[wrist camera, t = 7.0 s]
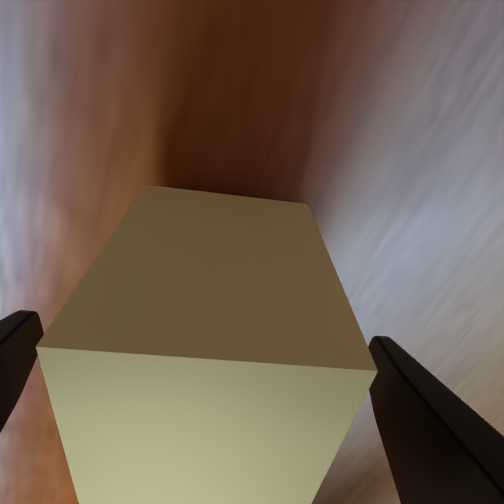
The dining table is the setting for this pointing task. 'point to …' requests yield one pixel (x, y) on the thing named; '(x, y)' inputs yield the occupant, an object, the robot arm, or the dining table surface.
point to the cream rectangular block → (206, 356)
